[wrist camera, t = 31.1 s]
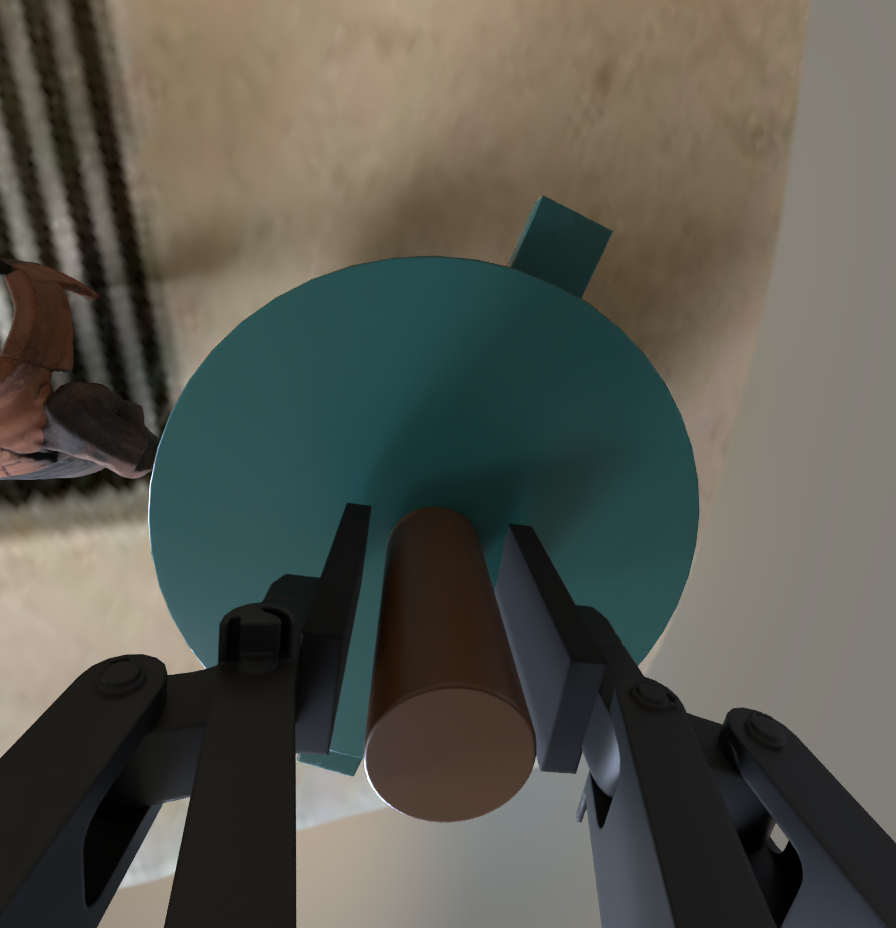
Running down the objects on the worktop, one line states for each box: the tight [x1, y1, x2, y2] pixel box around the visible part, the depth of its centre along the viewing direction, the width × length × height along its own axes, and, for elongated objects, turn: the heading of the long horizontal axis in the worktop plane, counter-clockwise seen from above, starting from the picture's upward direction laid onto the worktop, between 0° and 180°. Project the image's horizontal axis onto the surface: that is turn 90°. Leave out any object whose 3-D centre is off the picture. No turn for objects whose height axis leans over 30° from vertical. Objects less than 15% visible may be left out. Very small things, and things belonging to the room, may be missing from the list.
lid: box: [148, 256, 699, 823], centre depth 13 cm, size 18×18×9 cm
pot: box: [297, 196, 613, 776], centre depth 22 cm, size 17×22×10 cm
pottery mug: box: [0, 259, 160, 480], centre depth 22 cm, size 12×10×8 cm
